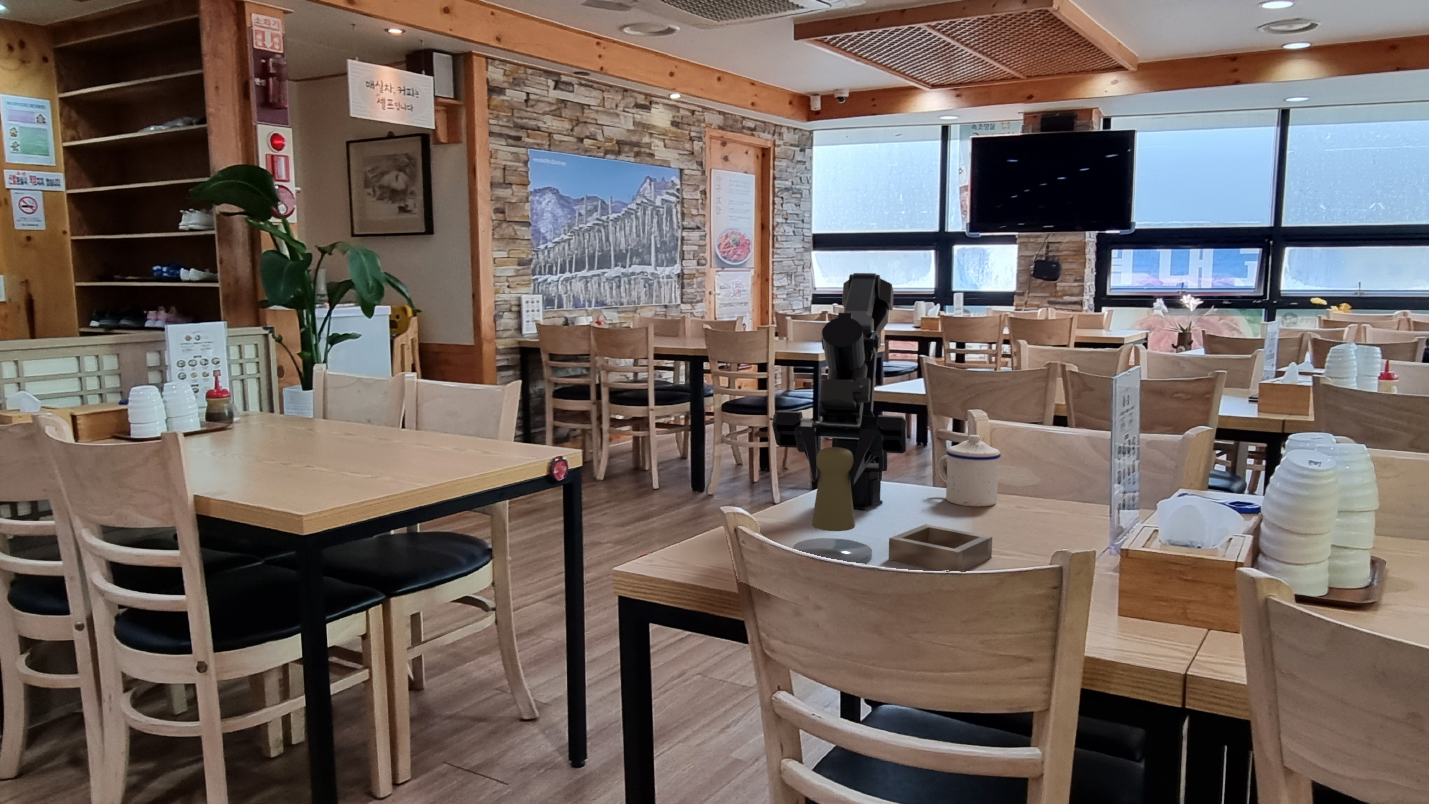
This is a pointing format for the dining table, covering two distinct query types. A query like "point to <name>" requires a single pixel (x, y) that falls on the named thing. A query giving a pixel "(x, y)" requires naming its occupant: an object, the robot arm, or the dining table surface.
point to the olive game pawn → (834, 490)
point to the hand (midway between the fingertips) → (833, 481)
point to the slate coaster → (836, 549)
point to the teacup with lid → (971, 473)
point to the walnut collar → (940, 548)
